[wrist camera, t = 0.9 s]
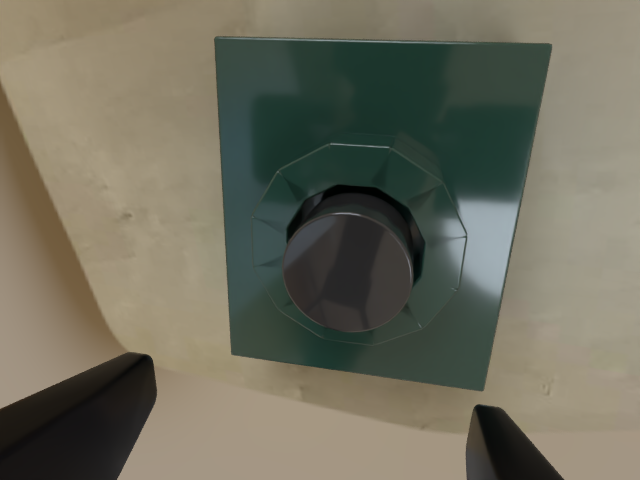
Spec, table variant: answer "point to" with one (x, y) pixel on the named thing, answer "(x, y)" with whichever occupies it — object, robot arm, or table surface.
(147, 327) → the table surface
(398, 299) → the dark grey push button
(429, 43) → the push button box
